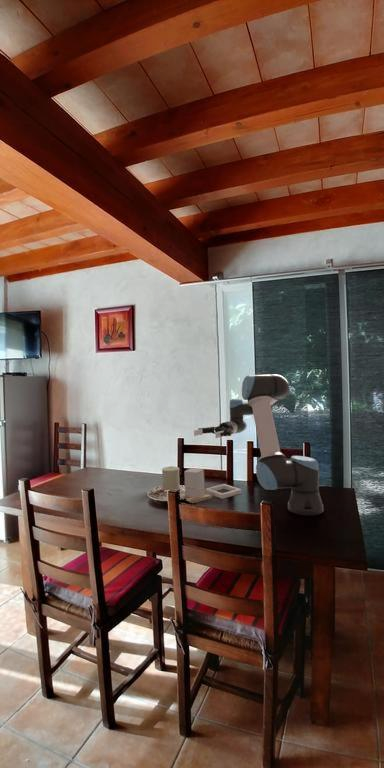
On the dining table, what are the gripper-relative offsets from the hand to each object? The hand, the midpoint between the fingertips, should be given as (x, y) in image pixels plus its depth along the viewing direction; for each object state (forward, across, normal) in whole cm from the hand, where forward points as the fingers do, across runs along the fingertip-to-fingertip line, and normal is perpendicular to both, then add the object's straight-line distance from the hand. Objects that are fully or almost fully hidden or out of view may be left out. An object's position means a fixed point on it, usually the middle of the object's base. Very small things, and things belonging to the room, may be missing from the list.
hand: (205, 434), depth 202 cm
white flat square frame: (-4, -8, -30) cm, 31 cm away
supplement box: (+10, 0, -29) cm, 31 cm away
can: (+7, +18, -30) cm, 36 cm away
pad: (+10, 0, -30) cm, 32 cm away
